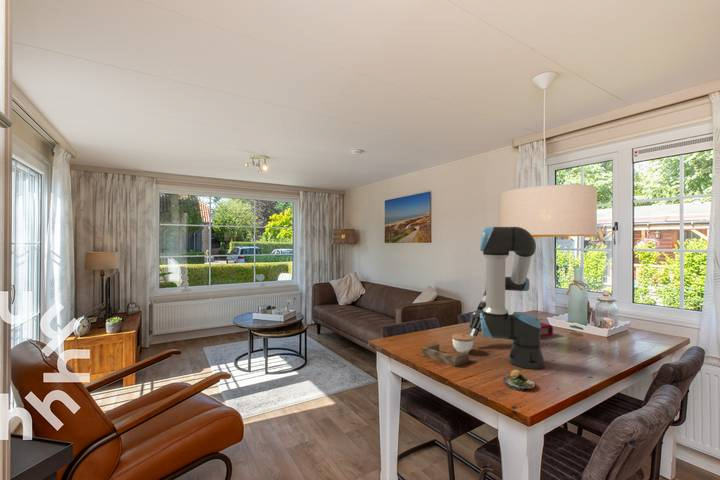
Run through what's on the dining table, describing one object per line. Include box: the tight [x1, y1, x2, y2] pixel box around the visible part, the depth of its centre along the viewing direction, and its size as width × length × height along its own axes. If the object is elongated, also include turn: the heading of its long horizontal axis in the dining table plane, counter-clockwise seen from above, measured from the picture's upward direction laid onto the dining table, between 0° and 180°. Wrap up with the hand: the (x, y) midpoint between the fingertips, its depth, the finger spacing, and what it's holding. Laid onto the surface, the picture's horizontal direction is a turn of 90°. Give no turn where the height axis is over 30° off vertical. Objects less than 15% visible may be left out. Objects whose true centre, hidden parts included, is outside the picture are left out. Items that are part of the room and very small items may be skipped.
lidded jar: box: [451, 332, 475, 354], centre depth 172 cm, size 11×11×9 cm
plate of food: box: [502, 366, 536, 392], centre depth 132 cm, size 12×12×8 cm
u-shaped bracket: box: [421, 342, 470, 367], centre depth 162 cm, size 19×12×4 cm, turn 41°
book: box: [540, 321, 554, 338], centre depth 211 cm, size 21×28×8 cm
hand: (470, 340), depth 178 cm, fingers closed
